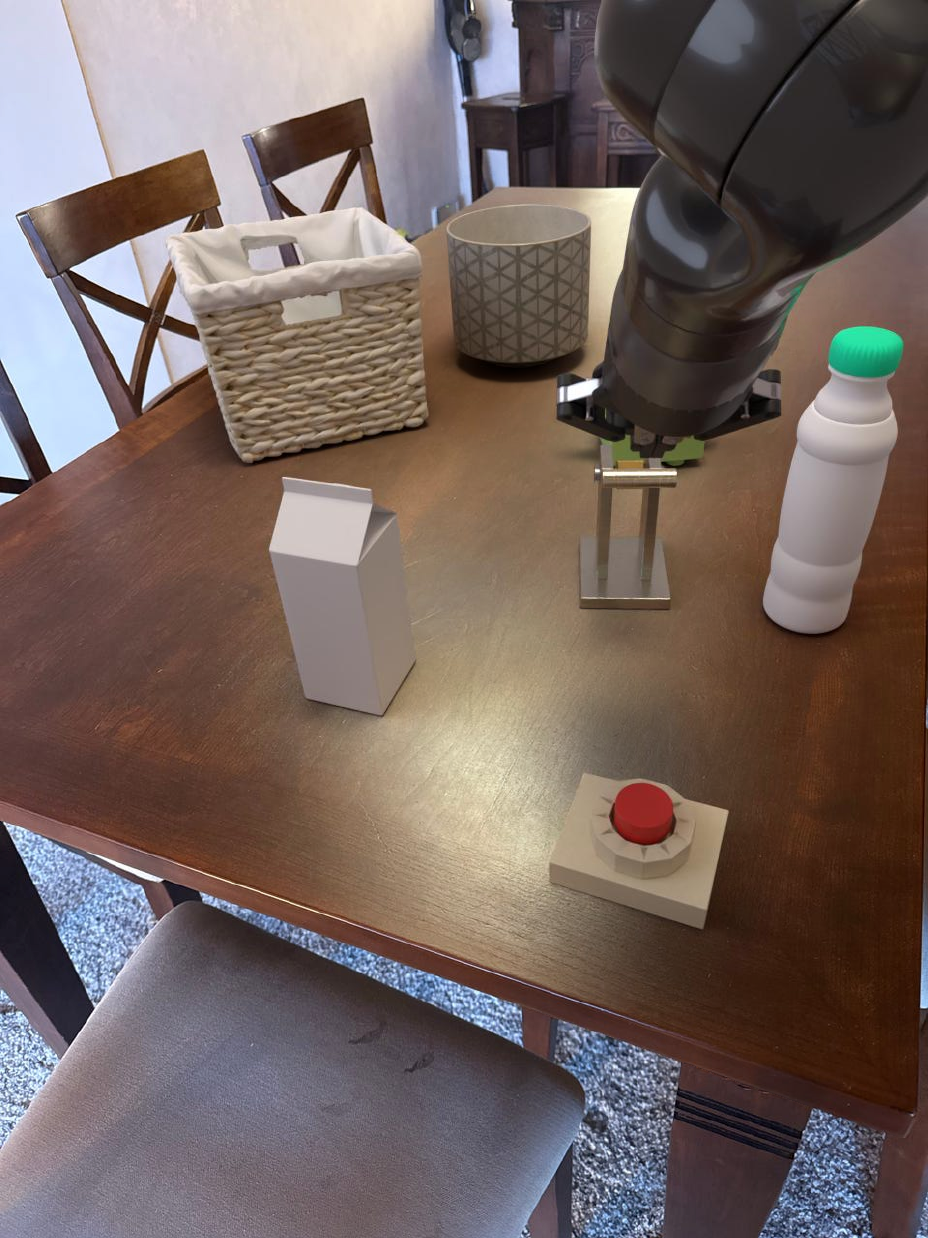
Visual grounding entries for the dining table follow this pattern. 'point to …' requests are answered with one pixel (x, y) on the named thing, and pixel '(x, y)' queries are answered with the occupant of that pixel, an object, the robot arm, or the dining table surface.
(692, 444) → the teapot
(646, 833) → the button
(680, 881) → the box
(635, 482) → the lever
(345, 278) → the basket
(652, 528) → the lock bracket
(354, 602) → the milk carton
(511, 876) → the dining table surface
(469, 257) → the planter
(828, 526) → the water bottle
